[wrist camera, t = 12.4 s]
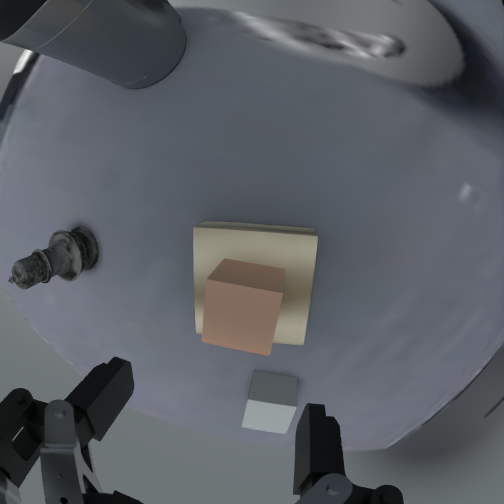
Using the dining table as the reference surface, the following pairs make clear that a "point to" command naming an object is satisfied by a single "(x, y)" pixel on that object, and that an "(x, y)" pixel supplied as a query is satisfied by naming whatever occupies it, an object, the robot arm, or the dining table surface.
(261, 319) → the terracotta cube
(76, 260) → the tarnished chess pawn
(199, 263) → the birch block
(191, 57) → the dining table surface
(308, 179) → the dining table surface
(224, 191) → the dining table surface
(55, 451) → the robot arm
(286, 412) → the grey cube
